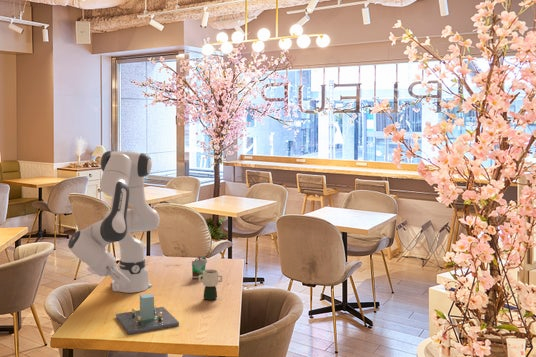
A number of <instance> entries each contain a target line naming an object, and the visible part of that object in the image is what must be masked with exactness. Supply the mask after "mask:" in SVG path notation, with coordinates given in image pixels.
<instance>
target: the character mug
mask: <svg viewBox="0 0 536 357" xmlns="http://www.w3.org/2000/svg"><path fill="white" fill-rule="evenodd" d="M201 277H203V278H202V279H201ZM219 278H220V279H219ZM198 282H199V283H202V285H203V286H205V287H204V290H203V298H204V299H205V300H210V301H212V300H215V299H217V298H218V292H217V286H218V284H219V283H222V282H223V274H219V270H218V269H214V268H213V269H211V268H210V269H205V270H204V271H203V275H199V279H198Z"/></svg>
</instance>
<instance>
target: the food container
mask: <svg viewBox="0 0 536 357" xmlns="http://www.w3.org/2000/svg"><path fill="white" fill-rule="evenodd" d="M207 263H208V260H207V257H206V256H203V255H198V257H197V258H195V259H194V260H192V261H191V266H192V267H191V270H192V272H191V273H192V280H199V275H203V271H204V270H206V265H207ZM201 280H203V277H201Z"/></svg>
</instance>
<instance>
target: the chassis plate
mask: <svg viewBox="0 0 536 357" xmlns="http://www.w3.org/2000/svg"><path fill="white" fill-rule="evenodd" d="M115 319H116V320H117V321H118V322H119V324H120V325H121V327H122V328H123V329H124V330H125V332H126V333H127V335H129V336H130V335H135V334H140V333H145V332H151V331H157V330H162V329H168V328H174V327H179V326H180V322H179V320H177V319H176V318H175V317H174V316H173V315H172V314H171V313H170V312H169V311H168V310H167V309H166V308H165V307H164V306H160V307H157V306H156V305H154V319H148V320H142V319H141V315H140V309H138V310H136V308H132V309H131V311H126V312H119V313H115Z"/></svg>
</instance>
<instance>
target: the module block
mask: <svg viewBox="0 0 536 357" xmlns="http://www.w3.org/2000/svg"><path fill="white" fill-rule="evenodd" d="M154 306H155V296H154V295H153V294H152V293H144V294H139V310H140V315H141V319H142V320H148V319H154Z"/></svg>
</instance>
